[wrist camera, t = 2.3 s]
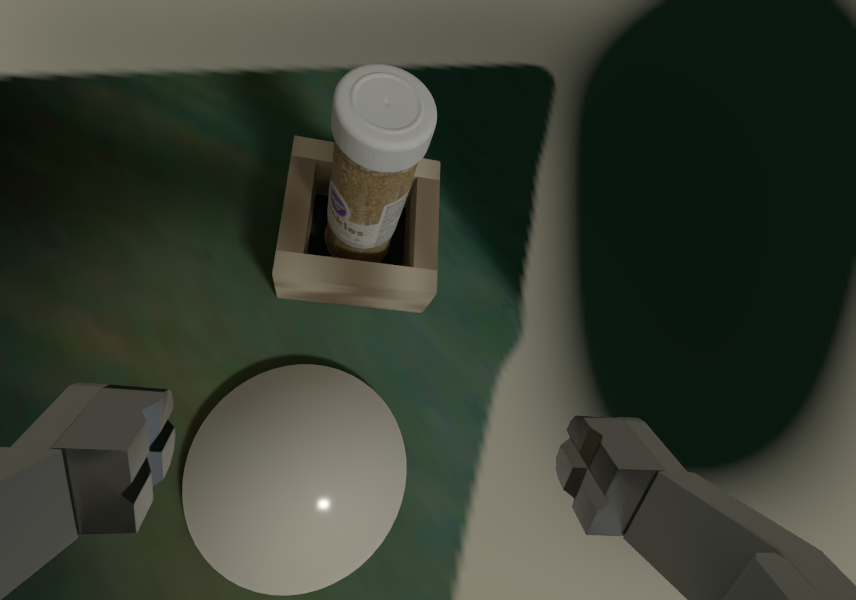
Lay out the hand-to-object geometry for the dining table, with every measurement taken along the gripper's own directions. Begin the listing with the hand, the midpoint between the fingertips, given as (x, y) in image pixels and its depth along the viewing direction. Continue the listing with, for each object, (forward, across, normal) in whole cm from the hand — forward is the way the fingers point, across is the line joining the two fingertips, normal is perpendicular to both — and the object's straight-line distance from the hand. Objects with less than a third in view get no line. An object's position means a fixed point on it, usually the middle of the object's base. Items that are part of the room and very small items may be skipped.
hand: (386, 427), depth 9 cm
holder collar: (+23, 0, +4) cm, 23 cm away
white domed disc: (+12, +2, +14) cm, 19 cm away
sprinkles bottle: (+23, 0, +4) cm, 24 cm away
